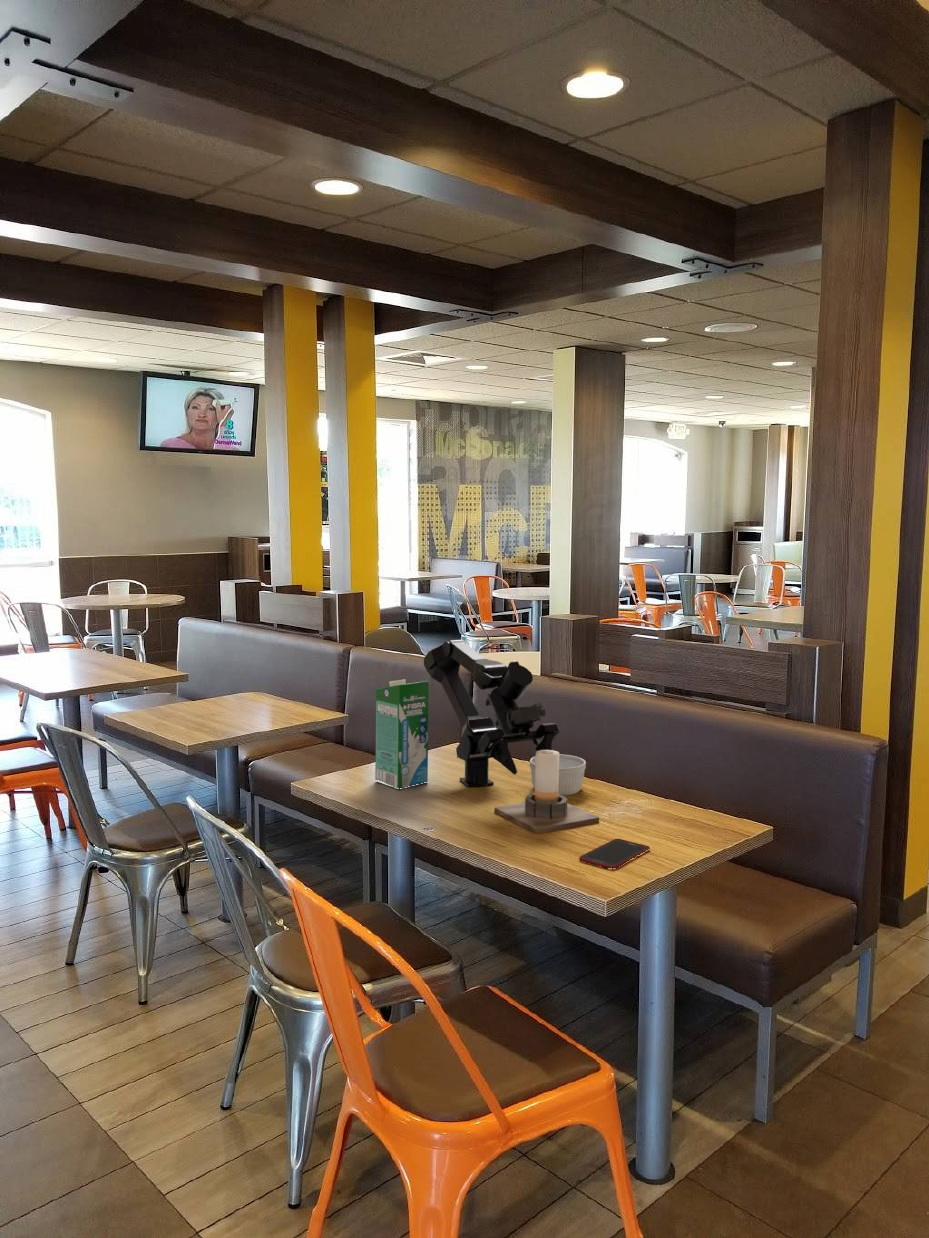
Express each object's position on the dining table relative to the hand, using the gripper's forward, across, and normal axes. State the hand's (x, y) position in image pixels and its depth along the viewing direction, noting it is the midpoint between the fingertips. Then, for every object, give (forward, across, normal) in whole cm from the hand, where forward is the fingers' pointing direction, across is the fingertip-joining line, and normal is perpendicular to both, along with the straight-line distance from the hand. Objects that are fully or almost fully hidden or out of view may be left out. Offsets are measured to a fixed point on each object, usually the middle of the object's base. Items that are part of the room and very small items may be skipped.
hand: (533, 770), depth 204 cm
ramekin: (-1, +14, +14) cm, 20 cm away
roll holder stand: (+10, 0, +2) cm, 10 cm away
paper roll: (+9, 0, +2) cm, 9 cm away
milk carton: (-16, -16, +30) cm, 37 cm away
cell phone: (+28, -2, -15) cm, 32 cm away
